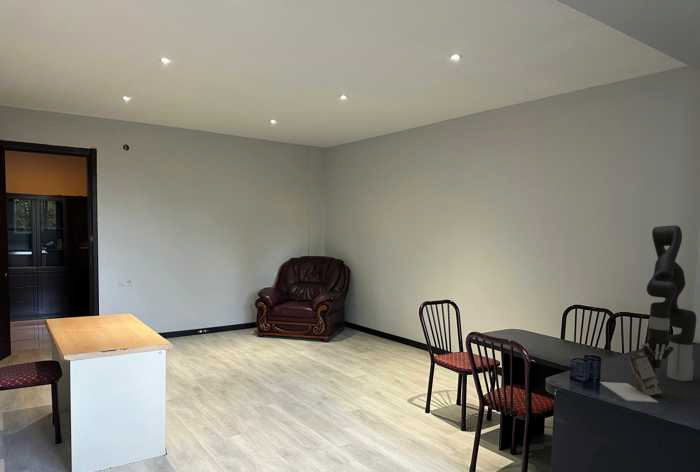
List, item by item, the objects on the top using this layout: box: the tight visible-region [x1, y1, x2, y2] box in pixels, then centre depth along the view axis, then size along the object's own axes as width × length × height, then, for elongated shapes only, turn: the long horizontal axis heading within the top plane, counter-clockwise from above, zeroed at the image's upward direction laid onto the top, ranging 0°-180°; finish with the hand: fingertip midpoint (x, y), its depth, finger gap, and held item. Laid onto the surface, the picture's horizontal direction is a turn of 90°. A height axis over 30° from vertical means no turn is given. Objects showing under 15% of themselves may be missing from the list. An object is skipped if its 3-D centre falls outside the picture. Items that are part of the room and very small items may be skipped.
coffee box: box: [627, 350, 663, 397], centre depth 206 cm, size 9×6×16 cm
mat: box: [599, 381, 659, 404], centre depth 206 cm, size 12×22×1 cm, turn 0°
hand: (655, 367), depth 205 cm, fingers closed
